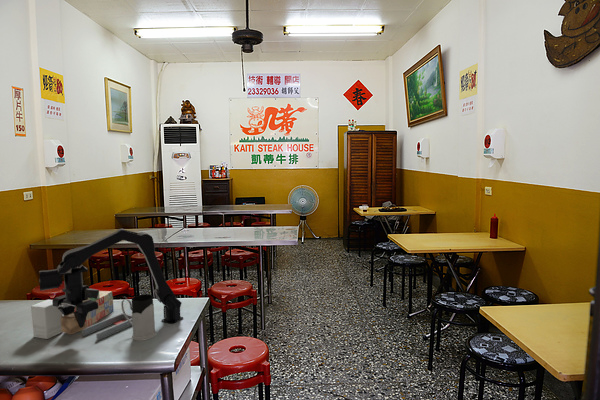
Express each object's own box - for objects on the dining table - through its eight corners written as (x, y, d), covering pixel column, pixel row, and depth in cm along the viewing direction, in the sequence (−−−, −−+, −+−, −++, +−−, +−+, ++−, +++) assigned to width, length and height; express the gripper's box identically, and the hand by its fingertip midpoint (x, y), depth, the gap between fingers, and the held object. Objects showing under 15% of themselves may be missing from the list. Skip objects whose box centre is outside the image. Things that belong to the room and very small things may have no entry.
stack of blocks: (101, 310, 171) (99, 284, 170) (114, 310, 170) (112, 284, 169) (67, 331, 150) (64, 301, 149) (81, 331, 149) (79, 301, 148)
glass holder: (146, 341, 139) (143, 302, 138) (115, 337, 144) (112, 299, 142) (161, 331, 148) (159, 294, 146) (131, 327, 152) (129, 291, 151)
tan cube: (85, 328, 139) (84, 314, 138) (70, 334, 134) (69, 319, 133) (76, 325, 141) (75, 311, 141) (61, 331, 136) (60, 317, 136)
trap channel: (138, 322, 157) (138, 316, 157) (98, 340, 141) (98, 334, 141) (123, 318, 161) (122, 312, 161) (82, 335, 145) (82, 329, 145)
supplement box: (64, 331, 149) (62, 300, 148) (46, 339, 142) (44, 307, 141) (50, 329, 152) (48, 298, 150) (32, 337, 145) (30, 305, 143)
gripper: (110, 281, 140) (113, 322, 141) (79, 275, 148) (82, 313, 150) (81, 291, 130) (84, 334, 131) (50, 283, 138) (53, 324, 140)
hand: (76, 325), depth 138 cm, fingers closed on tan cube, 5 cm apart
